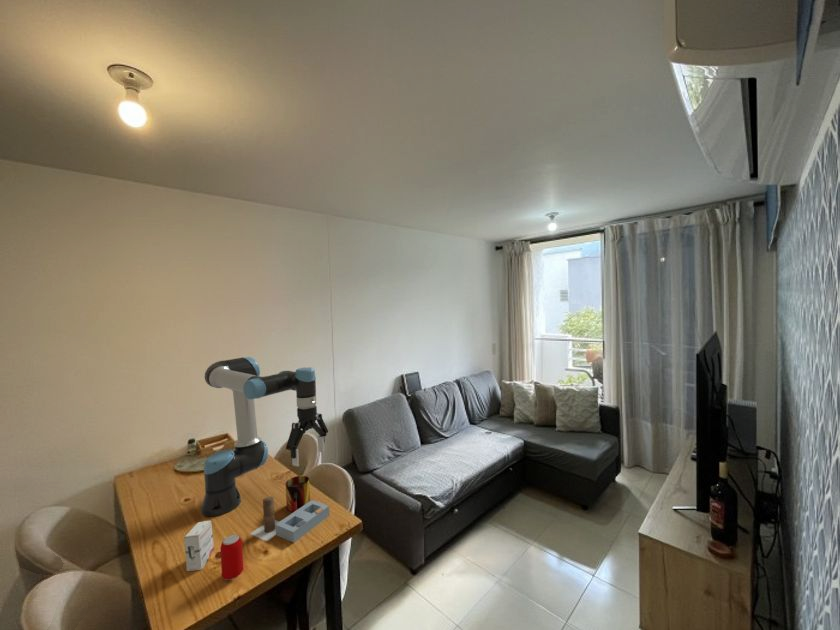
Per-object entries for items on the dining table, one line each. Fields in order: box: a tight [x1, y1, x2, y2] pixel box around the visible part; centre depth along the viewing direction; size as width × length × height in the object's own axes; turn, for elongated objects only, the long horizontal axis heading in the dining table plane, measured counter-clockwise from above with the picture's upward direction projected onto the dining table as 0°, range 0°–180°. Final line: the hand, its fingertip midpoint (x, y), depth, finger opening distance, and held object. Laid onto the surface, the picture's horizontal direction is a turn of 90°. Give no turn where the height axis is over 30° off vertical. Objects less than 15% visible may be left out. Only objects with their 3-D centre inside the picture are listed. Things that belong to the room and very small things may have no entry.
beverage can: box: [219, 534, 244, 581], centre depth 110 cm, size 6×6×12 cm
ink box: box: [183, 520, 215, 572], centre depth 116 cm, size 9×5×12 cm, turn 5°
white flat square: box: [249, 519, 280, 542], centre depth 131 cm, size 10×10×1 cm
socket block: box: [275, 499, 330, 544], centre depth 133 cm, size 10×18×5 cm, turn 151°
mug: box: [285, 475, 311, 514], centre depth 144 cm, size 10×14×12 cm
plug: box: [262, 495, 276, 533], centre depth 131 cm, size 4×4×12 cm
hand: (309, 458), depth 136 cm, fingers open, 13 cm apart
